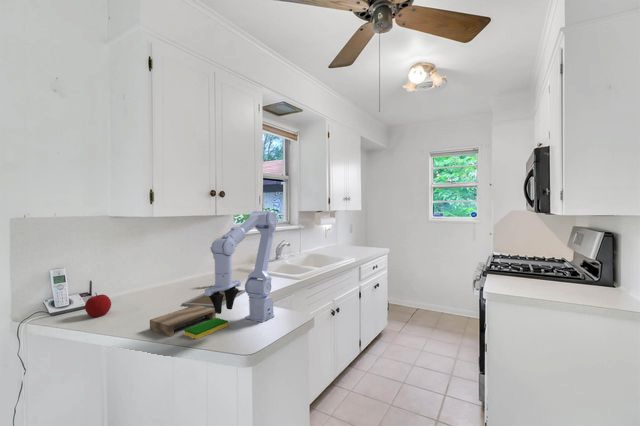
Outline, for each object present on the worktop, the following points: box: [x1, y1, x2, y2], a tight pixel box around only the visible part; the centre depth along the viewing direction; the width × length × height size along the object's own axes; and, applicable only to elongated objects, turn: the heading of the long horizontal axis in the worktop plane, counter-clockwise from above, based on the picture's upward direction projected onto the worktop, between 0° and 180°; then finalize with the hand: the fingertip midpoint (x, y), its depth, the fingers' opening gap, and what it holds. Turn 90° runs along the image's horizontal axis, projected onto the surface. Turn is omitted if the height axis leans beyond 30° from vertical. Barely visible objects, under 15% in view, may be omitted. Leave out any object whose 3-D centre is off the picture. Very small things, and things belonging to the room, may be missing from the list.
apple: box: [84, 292, 112, 318], centre depth 126 cm, size 9×9×10 cm
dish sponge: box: [183, 317, 229, 340], centre depth 108 cm, size 7×14×2 cm, turn 148°
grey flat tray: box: [181, 289, 246, 308], centre depth 150 cm, size 19×2×30 cm
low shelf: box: [149, 305, 217, 337], centre depth 114 cm, size 12×20×4 cm, turn 150°
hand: (223, 311), depth 104 cm, fingers open, 4 cm apart
